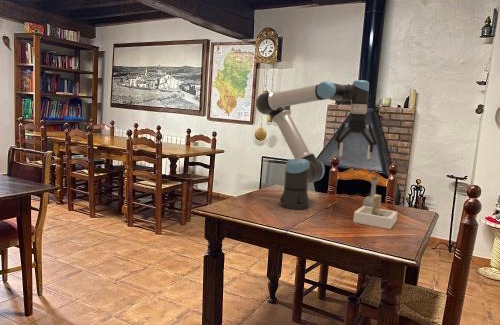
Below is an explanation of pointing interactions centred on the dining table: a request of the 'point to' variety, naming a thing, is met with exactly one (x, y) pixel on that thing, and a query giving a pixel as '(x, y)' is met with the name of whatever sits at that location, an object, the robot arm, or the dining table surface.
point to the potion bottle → (369, 200)
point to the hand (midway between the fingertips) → (354, 157)
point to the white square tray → (375, 217)
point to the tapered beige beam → (376, 205)
